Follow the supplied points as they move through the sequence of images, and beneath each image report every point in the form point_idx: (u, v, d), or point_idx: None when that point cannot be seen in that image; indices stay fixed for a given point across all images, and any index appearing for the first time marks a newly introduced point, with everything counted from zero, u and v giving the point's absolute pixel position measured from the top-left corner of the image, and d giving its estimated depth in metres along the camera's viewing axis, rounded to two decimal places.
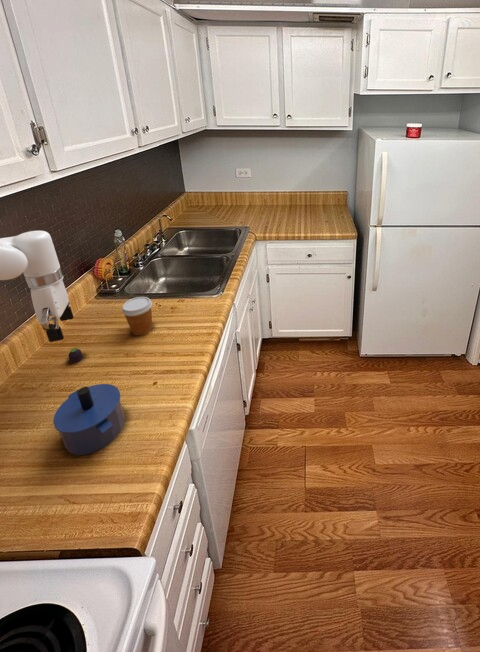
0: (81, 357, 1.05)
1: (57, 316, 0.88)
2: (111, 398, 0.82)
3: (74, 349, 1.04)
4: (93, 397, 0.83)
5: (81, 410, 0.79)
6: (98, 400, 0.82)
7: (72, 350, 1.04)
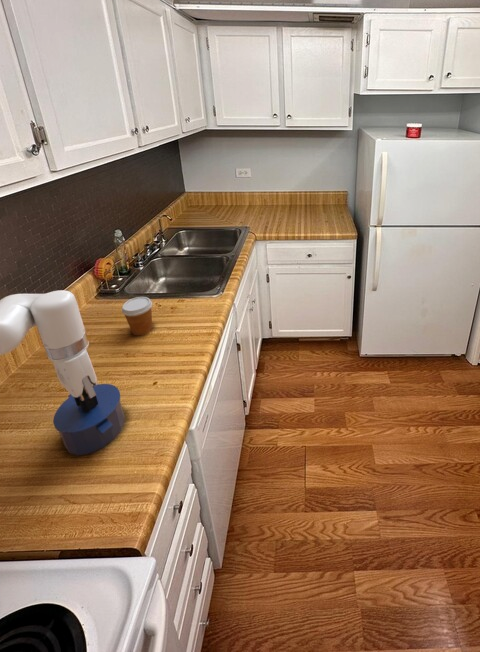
0: None
1: (96, 382, 0.76)
2: (111, 398, 0.82)
3: None
4: None
5: (81, 410, 0.79)
6: (98, 400, 0.82)
7: None
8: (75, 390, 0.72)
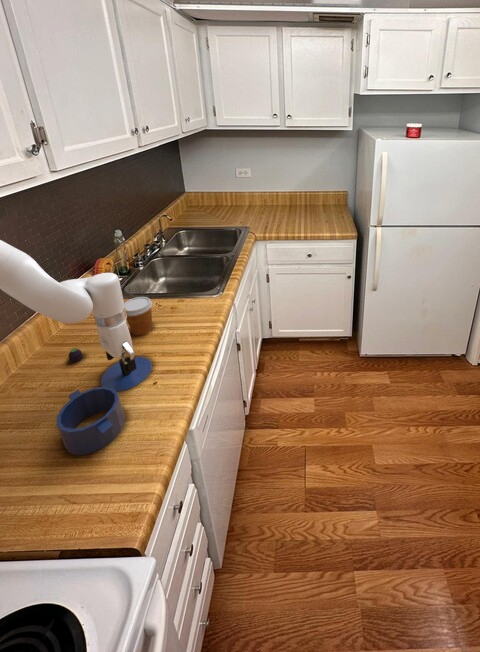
0: (81, 357, 1.05)
1: (132, 347, 0.95)
2: (145, 367, 1.02)
3: (74, 349, 1.04)
4: None
5: (122, 376, 0.99)
6: None
7: (72, 350, 1.04)
8: (116, 352, 0.91)
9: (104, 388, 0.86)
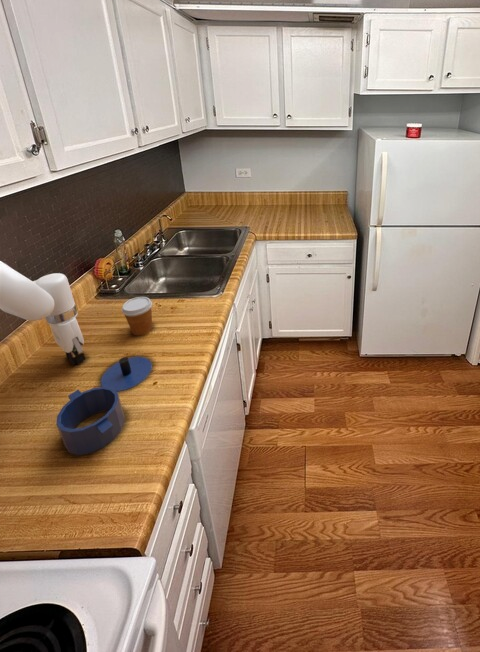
0: None
1: (83, 342, 1.02)
2: (145, 367, 1.02)
3: (74, 349, 1.04)
4: (130, 366, 1.03)
5: (122, 376, 0.99)
6: (134, 368, 1.02)
7: None
8: (67, 347, 0.98)
9: (104, 388, 0.86)
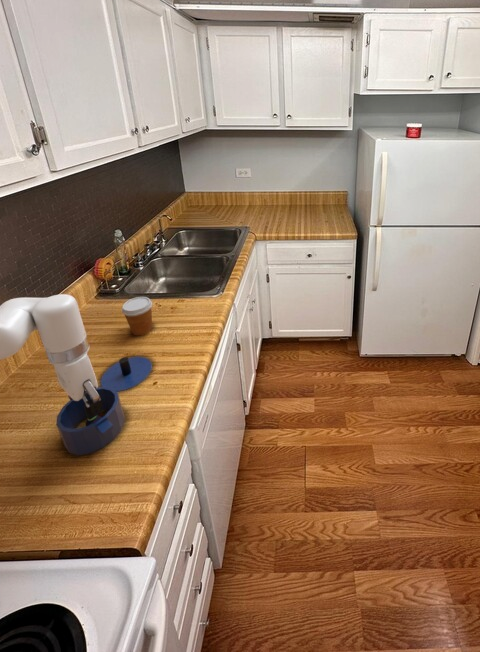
0: None
1: (97, 386, 0.76)
2: (145, 367, 1.02)
3: None
4: (130, 366, 1.03)
5: (122, 376, 0.99)
6: (134, 368, 1.02)
7: None
8: (76, 394, 0.72)
9: (104, 388, 0.86)
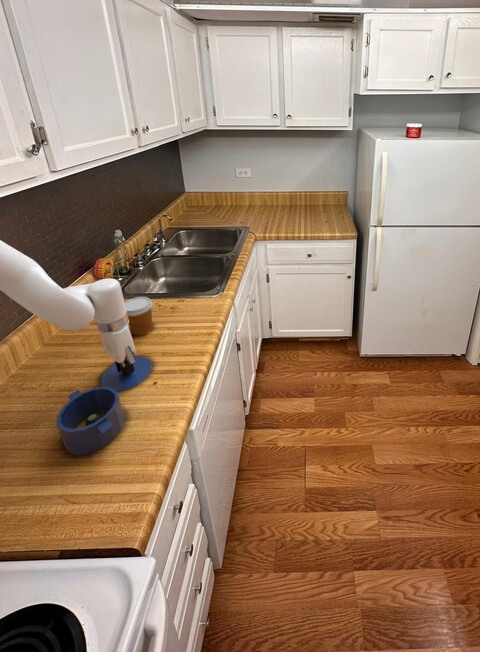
0: None
1: None
2: (145, 367, 1.02)
3: (93, 416, 0.82)
4: None
5: (122, 375, 0.99)
6: (134, 368, 1.02)
7: (90, 418, 0.81)
8: (119, 357, 0.92)
9: (104, 388, 0.86)
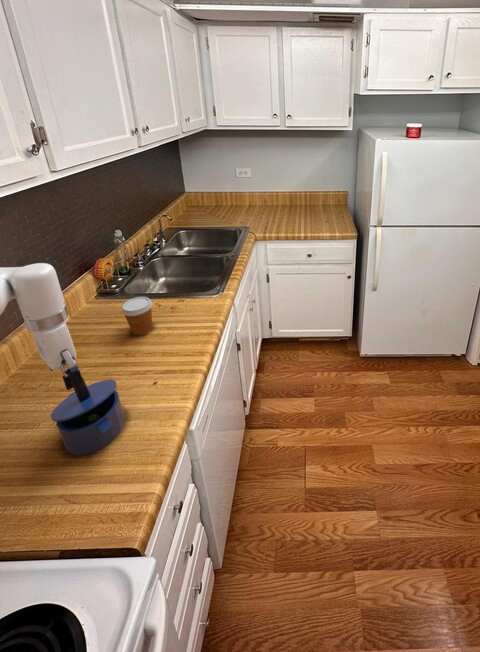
0: None
1: (75, 356, 0.77)
2: (107, 388, 0.82)
3: (93, 416, 0.82)
4: (91, 391, 0.83)
5: (78, 402, 0.79)
6: (95, 392, 0.82)
7: (90, 418, 0.81)
8: (53, 362, 0.73)
9: None
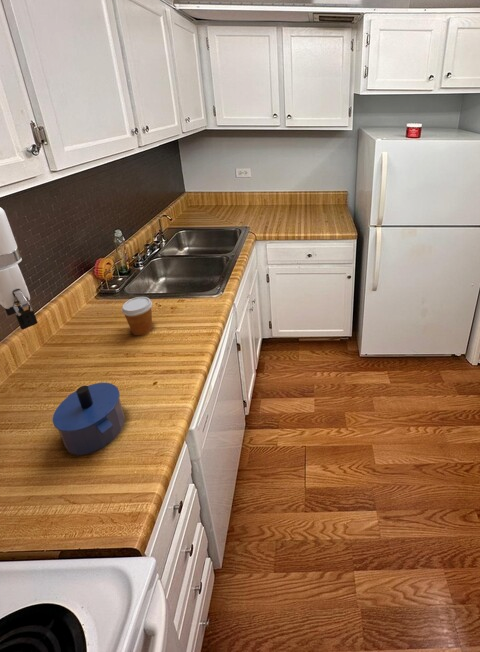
0: None
1: (29, 297, 0.80)
2: (110, 397, 0.83)
3: None
4: (92, 396, 0.83)
5: (80, 409, 0.79)
6: (97, 399, 0.82)
7: None
8: (5, 300, 0.76)
9: None
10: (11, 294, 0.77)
